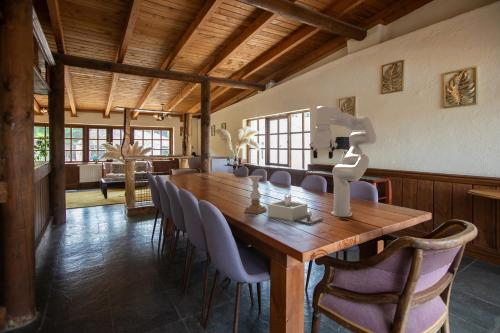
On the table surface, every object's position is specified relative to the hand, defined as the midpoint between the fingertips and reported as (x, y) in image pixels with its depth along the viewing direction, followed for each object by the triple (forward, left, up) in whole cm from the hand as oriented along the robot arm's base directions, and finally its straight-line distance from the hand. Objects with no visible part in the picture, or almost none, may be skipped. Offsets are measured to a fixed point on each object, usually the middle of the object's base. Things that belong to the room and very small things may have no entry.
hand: (322, 158), depth 158 cm
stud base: (+7, -5, -36) cm, 37 cm away
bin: (+7, -20, -36) cm, 42 cm away
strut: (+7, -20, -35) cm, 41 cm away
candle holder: (+10, -44, -36) cm, 58 cm away
